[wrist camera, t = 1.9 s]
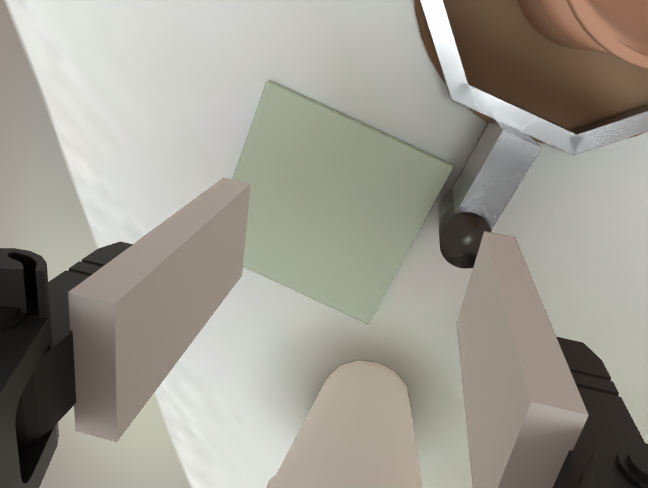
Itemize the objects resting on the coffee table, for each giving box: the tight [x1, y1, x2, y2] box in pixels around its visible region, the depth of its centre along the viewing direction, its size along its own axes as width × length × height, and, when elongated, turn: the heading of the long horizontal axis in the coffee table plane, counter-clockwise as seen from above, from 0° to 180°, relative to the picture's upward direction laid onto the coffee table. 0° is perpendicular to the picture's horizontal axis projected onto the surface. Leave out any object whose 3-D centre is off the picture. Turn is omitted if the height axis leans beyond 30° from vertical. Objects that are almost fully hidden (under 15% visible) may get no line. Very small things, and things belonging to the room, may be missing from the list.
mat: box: [232, 80, 453, 324], centre depth 33 cm, size 12×12×1 cm
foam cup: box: [267, 360, 422, 488], centre depth 33 cm, size 10×9×13 cm
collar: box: [420, 0, 648, 268], centre depth 24 cm, size 24×17×6 cm
